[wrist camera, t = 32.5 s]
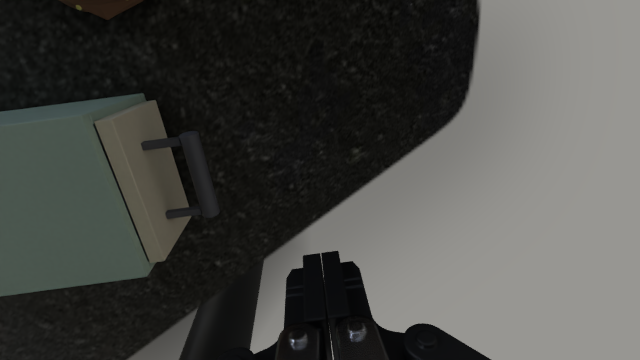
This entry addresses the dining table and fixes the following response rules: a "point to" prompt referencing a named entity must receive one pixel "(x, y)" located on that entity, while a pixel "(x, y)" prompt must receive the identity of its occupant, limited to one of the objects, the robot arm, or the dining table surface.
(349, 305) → the robot arm
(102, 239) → the cabinet
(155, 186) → the drawer
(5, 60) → the dining table surface
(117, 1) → the donut
